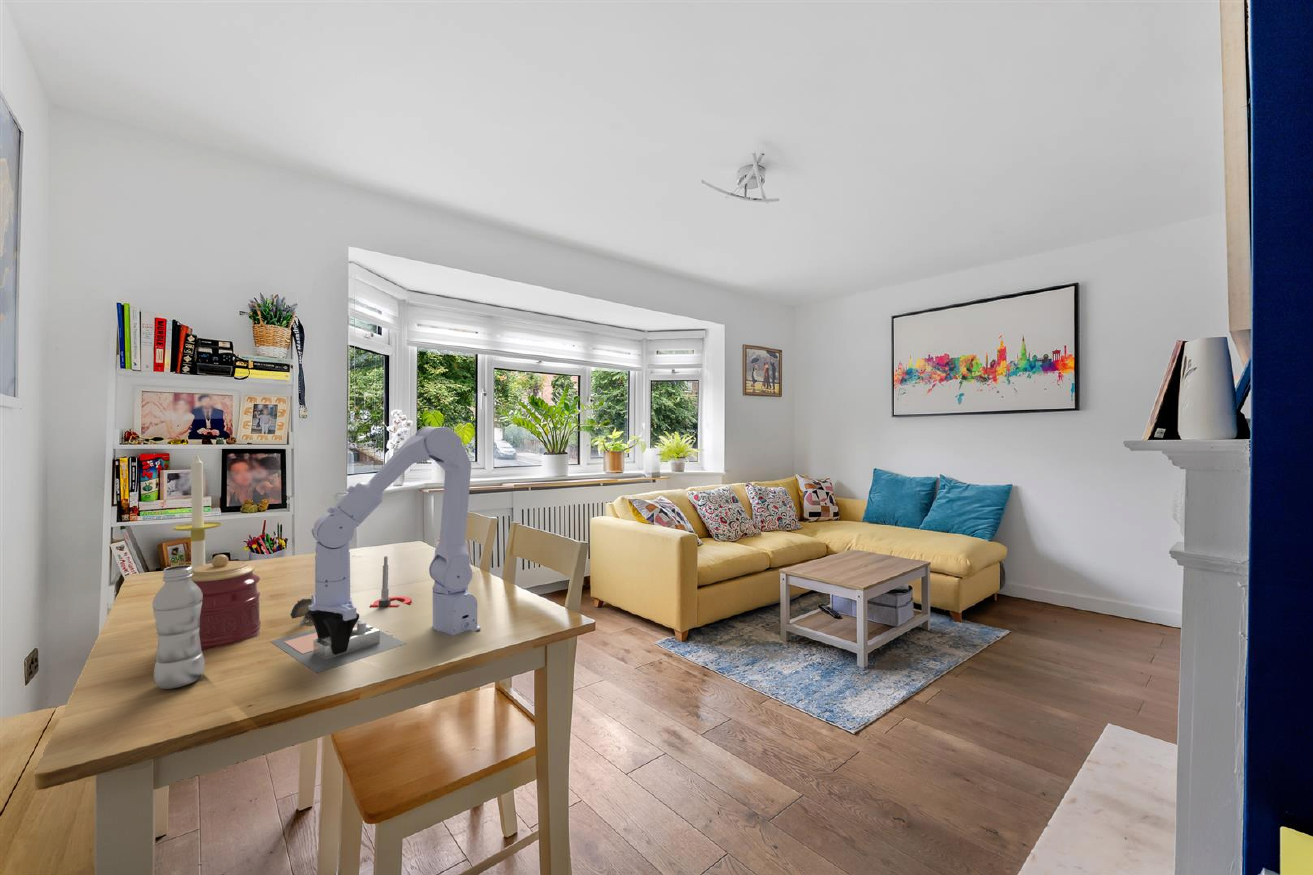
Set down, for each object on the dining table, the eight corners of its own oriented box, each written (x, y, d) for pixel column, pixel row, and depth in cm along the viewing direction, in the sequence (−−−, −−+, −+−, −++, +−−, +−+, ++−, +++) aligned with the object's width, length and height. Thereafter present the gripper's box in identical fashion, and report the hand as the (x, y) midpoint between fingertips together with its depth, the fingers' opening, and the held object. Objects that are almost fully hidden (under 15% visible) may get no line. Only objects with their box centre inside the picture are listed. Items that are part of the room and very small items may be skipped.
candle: (159, 616, 122) (156, 452, 121) (208, 602, 132) (206, 450, 131) (188, 622, 119) (186, 453, 118) (236, 607, 129) (234, 451, 128)
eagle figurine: (285, 617, 119) (280, 623, 112) (306, 587, 122) (302, 591, 114) (319, 632, 122) (316, 638, 114) (339, 602, 125) (337, 607, 117)
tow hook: (383, 600, 136) (364, 611, 127) (384, 549, 136) (366, 557, 127) (417, 601, 136) (400, 612, 127) (418, 549, 137) (402, 557, 127)
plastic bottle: (215, 674, 95) (213, 562, 94) (182, 694, 88) (180, 573, 88) (177, 675, 95) (175, 562, 94) (142, 694, 88) (139, 573, 87)
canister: (272, 636, 112) (271, 552, 111) (195, 660, 101) (193, 566, 100) (243, 624, 118) (242, 544, 118) (167, 645, 107) (166, 557, 107)
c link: (379, 642, 107) (379, 630, 107) (324, 660, 99) (324, 646, 99) (367, 636, 110) (367, 624, 110) (313, 652, 102) (313, 639, 102)
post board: (406, 648, 107) (406, 623, 107) (317, 678, 94) (317, 650, 94) (354, 622, 120) (354, 600, 120) (270, 646, 107) (269, 621, 107)
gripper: (293, 575, 103) (294, 645, 104) (326, 590, 95) (327, 666, 95) (333, 568, 109) (333, 634, 109) (367, 581, 100) (368, 653, 101)
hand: (333, 648), depth 102 cm, fingers closed on c link, 5 cm apart
